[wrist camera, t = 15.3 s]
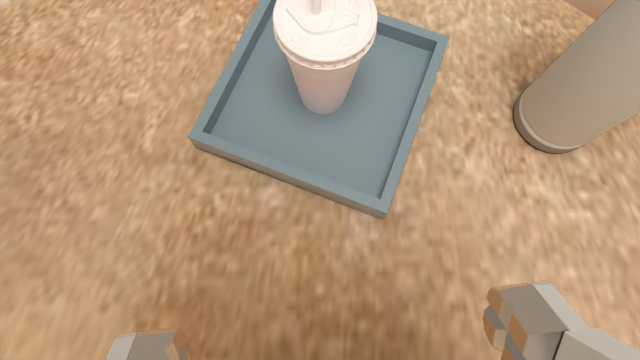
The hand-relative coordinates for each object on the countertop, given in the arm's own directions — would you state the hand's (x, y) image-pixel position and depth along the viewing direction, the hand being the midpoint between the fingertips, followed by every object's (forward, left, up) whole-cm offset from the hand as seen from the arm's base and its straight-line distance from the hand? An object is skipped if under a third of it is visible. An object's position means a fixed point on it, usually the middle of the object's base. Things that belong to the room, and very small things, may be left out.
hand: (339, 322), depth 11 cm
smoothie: (-6, +16, -19) cm, 25 cm away
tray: (-6, +16, -19) cm, 26 cm away
